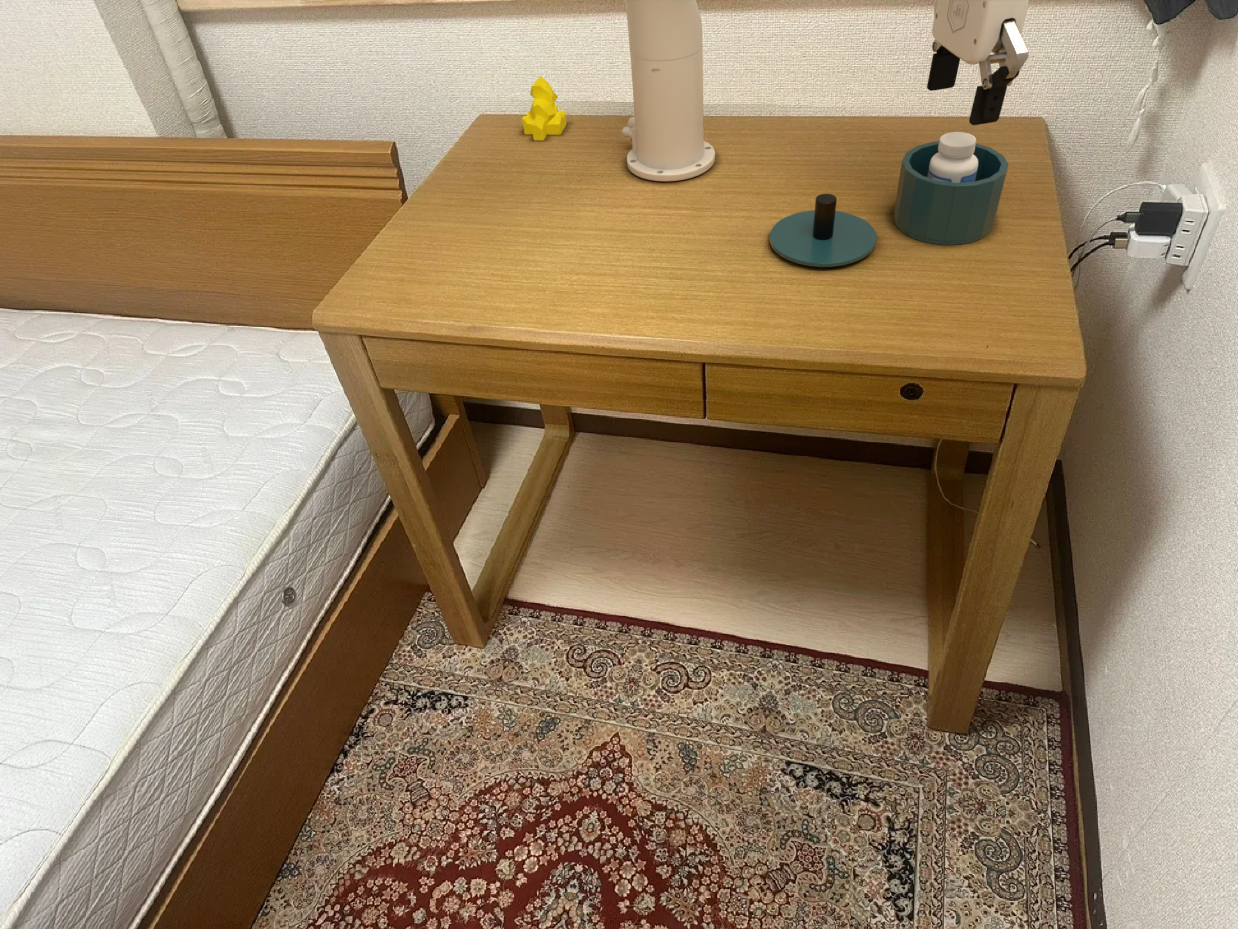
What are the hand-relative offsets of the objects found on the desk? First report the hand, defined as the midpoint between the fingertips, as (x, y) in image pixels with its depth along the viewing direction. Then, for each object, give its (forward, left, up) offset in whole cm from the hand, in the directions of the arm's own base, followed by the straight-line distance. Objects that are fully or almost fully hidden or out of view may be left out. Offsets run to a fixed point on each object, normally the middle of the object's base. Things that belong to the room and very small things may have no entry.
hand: (960, 104), depth 95 cm
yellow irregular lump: (-61, -13, -14) cm, 65 cm away
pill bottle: (+1, 0, -14) cm, 14 cm away
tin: (+1, 0, -14) cm, 14 cm away
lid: (-7, -13, -14) cm, 20 cm away
